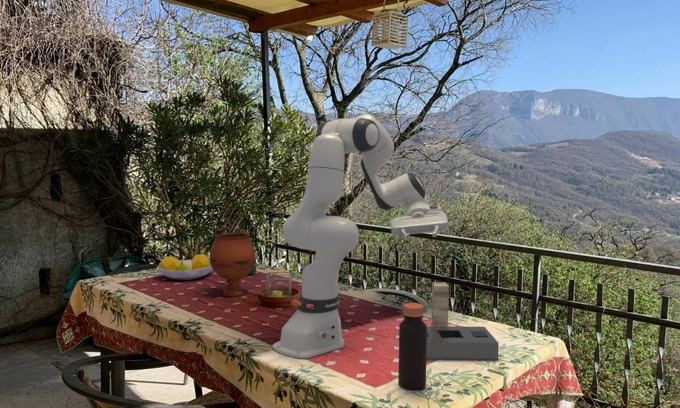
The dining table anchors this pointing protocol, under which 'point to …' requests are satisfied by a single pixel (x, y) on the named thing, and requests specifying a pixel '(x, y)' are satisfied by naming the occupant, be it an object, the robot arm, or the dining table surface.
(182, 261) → the fruit bowl
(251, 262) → the goblet
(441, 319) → the birch peg
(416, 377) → the bottle
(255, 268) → the jar
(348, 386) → the dining table surface
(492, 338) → the socket block
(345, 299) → the pliers
